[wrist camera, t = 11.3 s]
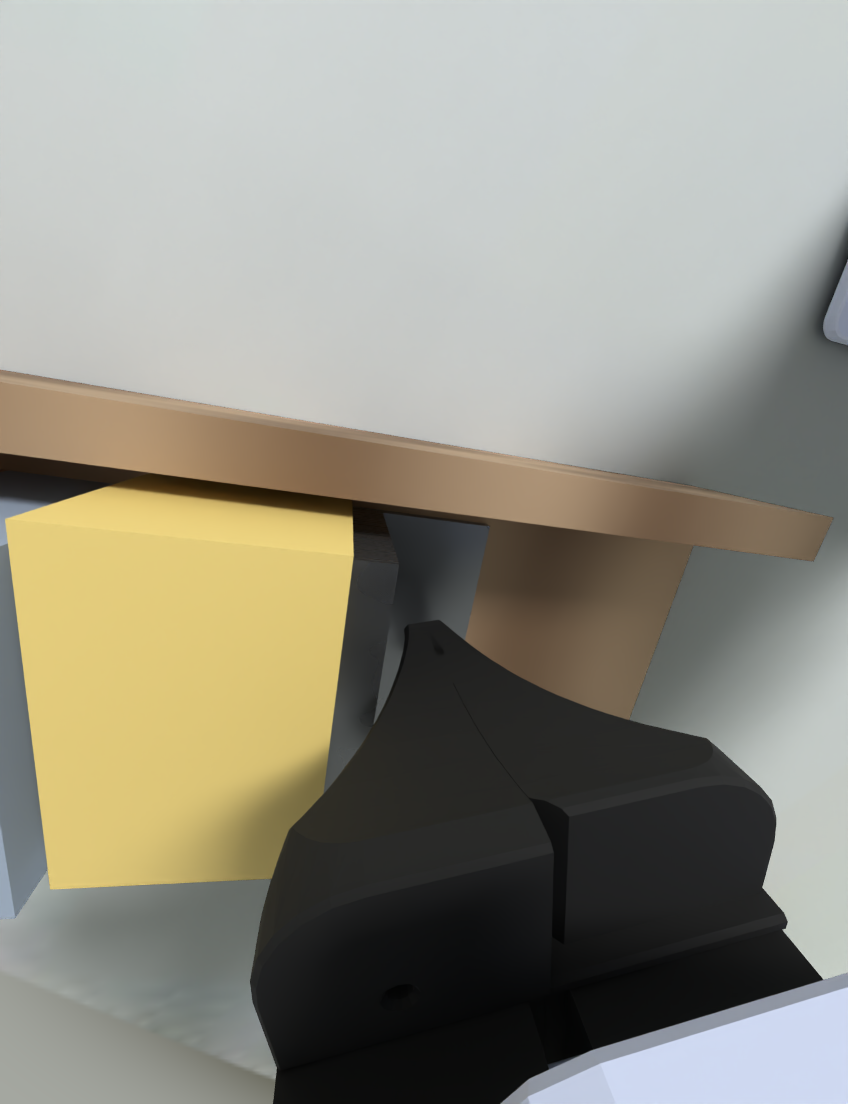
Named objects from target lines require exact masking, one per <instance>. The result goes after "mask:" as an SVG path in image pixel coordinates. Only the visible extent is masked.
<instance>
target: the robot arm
mask: <svg viewBox="0 0 848 1104" xmlns="http://www.w3.org/2000/svg"><path fill="white" fill-rule="evenodd" d="M823 332H824V334H825V336H826V338H828V339H829V340H831V341H834V342H838V343H841V344H845V345H848V261H847V263H846V266H845V268H844V271H843V273H842V276H841V278H840V281H839V283H838V286H837V288H836V291H835V293H834V296H833V298H832V301H831V303H830V306H829V308H828V311H827V313H826V316H825V319H824V323H823ZM404 635H405V642H404V648H403V653H402V657H401V661H400V665H399V668H398V672H397V674H396V677H395V680H394V682H393V685H392V688H391V690H390V693H389V695H388V697H387V700H386V702H385V704H384V706H383V708H382V710H381V712H380V714H379V716H378V718H377V720H376V721H375V723H374V725H373V727H372V728H371V730H370V732H369V733H368V735H367V737H366V738H365V740H364V741H363V743H362V744H361V746H360V747H359V749H358V750H357V752H356V753H355V755H354V756H353V757H352V759H351V760H350V761H349V762H348V764H347V765H346V766H345V768H344V769H343V770H342V772H341V773H340V774H339V776H338V777H337V778H336V779H335V781H334V782H333V783H332V784H331V786H330V787H329V788H328V789H327V790H326V792H325V793H324V794H323V795H322V796H321V797H320V798H319V799H318V800H317V801H316V802H315V803H314V804H313V805H312V807H311V808H310V809H309V810H308V811H307V812H306V813H305V814H304V815H303V816H302V817H301V818H300V819H299V820H298V821H297V822H296V823H295V824H294V825H293V826H292V827H291V828H290V829H289V831H288V833H287V836H286V838H285V841H284V844H283V847H282V849H281V852H280V855H279V858H278V861H277V864H276V867H275V870H274V873H273V876H272V879H271V882H270V886H269V890H268V893H267V897H266V900H265V904H264V908H263V912H262V916H261V921H260V926H259V932H258V938H257V944H256V950H255V956H254V962H253V967H252V973H251V979H250V984H251V992H252V1000H253V1004H254V1007H255V1010H256V1012H257V1015H258V1018H259V1020H260V1023H261V1026H262V1029H263V1031H264V1034H265V1037H266V1039H267V1042H268V1045H269V1048H270V1050H271V1053H272V1056H273V1058H274V1061H275V1064H276V1066H277V1073H276V1082H275V1092H274V1100H273V1104H848V973H845V974H842V975H838V976H835V977H832V978H828V979H825V980H823V979H822V977H821V976H820V975H819V974H818V973H817V971H816V970H815V969H814V968H813V967H812V965H811V964H810V963H809V962H808V961H807V959H806V958H805V957H804V956H803V955H802V953H801V952H800V951H799V950H798V948H797V947H796V946H795V945H794V944H793V942H792V941H791V940H790V939H789V938H788V936H787V935H786V934H785V933H784V932H783V930H782V929H786V926H787V922H788V921H787V919H786V917H785V914H784V912H783V911H782V910H781V909H780V908H779V907H778V906H777V904H776V903H775V902H774V901H773V900H772V899H771V897H770V896H769V895H768V894H767V893H766V892H765V890H764V889H763V888H762V886H763V883H764V879H765V875H766V871H767V868H768V864H769V860H770V856H771V852H772V849H773V845H774V841H775V831H776V815H775V811H774V807H773V804H772V800H771V799H770V798H769V797H768V795H767V794H766V793H765V792H764V791H763V789H762V788H761V787H760V786H759V785H758V784H757V783H756V782H755V781H753V780H752V779H751V778H750V777H749V776H748V775H747V774H746V773H745V772H744V771H743V770H741V769H740V768H739V767H738V766H737V765H736V764H735V763H734V762H733V761H732V760H731V759H729V758H728V757H727V756H726V755H725V754H724V753H723V752H722V751H721V750H720V749H718V748H717V747H716V746H715V745H714V744H713V743H711V742H710V741H709V740H708V739H707V738H702V737H698V736H693V735H689V734H685V733H680V732H676V731H671V730H667V729H662V728H658V727H653V726H649V725H645V724H641V723H637V722H634V721H631V720H627V719H624V718H621V717H617V716H614V715H610V714H607V713H604V712H601V711H598V710H595V709H592V708H589V707H587V706H584V705H581V704H579V703H576V702H574V701H571V700H569V699H566V698H564V697H561V696H558V695H556V694H554V693H552V692H549V691H547V690H545V689H543V688H541V687H539V686H537V685H535V684H533V683H531V682H529V681H527V680H525V679H523V678H521V677H519V676H517V675H516V674H514V673H512V672H510V671H509V670H507V669H505V668H504V667H502V666H501V665H499V664H497V663H496V662H494V661H493V660H491V659H490V658H488V657H487V656H485V655H484V654H482V653H481V652H480V651H478V650H477V649H475V648H474V647H473V646H471V645H470V644H469V643H468V642H466V641H465V640H464V639H463V638H461V637H460V636H459V635H458V634H456V633H455V632H454V631H453V630H452V629H450V628H449V627H448V626H447V625H445V624H444V623H443V622H442V621H440V620H433V621H427V622H421V623H414V624H408V625H407V626H406V627H405V628H404Z"/></svg>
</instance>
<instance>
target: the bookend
mask: <svg viewBox="0 0 848 1104" xmlns="http://www.w3.org/2000/svg"><path fill="white" fill-rule="evenodd" d="M352 514H353V552H354V557H353V565H352V573H351V581H350V589H349V596H348V604H347V612H346V620H345V628H344V636H343V644H342V651H341V659H340V667H339V675H338V683H337V691H336V699H335V707H334V714H333V722H332V730H331V738H330V746H329V754H328V762H327V770H326V777H325V785H324V793H325V792H326V790H327V789H328V788H329V787H330V786H331V784H332V783H333V782H334V781H335V779H336V778H337V777H338V776H339V774H340V773H341V772H342V770H343V769H344V768H345V766H346V765H347V764H348V762H349V761H350V760H351V759H352V757H353V756H354V755H355V753H356V752H357V750H358V749H359V747H360V746H361V744H362V743H363V741H364V740H365V738H366V737H367V735H368V733H369V732H370V730H371V728H372V727H373V725H374V723H375V721H376V720H377V718H378V716H379V714H380V712H381V710H382V708H383V706H384V704H385V702H386V700H387V697H388V695H389V693H390V690H391V688H392V685H393V682H394V680H395V677H396V674H397V672H398V668H399V665H400V661H401V657H402V653H403V648H404V642H405V635H404V628H405V627H406V626H407V625H408V624H414V623H421V622H427V621H433V620H440V621H442V622H443V623H444V624H445V625H447V626H448V627H449V628H450V629H452V630H453V631H454V632H455V633H456V634H458V635H459V636H460V637H461V638H463V639H464V640H465V638H466V633H467V629H468V624H469V620H470V615H471V611H472V606H473V602H474V597H475V593H476V588H477V584H478V579H479V574H480V570H481V565H482V561H483V556H484V552H485V547H486V543H487V538H488V534H489V529H490V526H489V525H488V524H486V523H478V522H470V521H463V520H455V519H447V518H440V517H432V516H424V515H417V514H409V513H401V512H394V511H386V510H378V509H371V508H363V507H355V506H352ZM324 793H323V794H324Z"/></svg>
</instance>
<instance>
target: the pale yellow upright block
mask: <svg viewBox="0 0 848 1104" xmlns="http://www.w3.org/2000/svg"><path fill="white" fill-rule="evenodd" d="M5 524H6V532H7V540H8V548H9V557H10V565H11V573H12V581H13V589H14V597H15V606H16V614H17V622H18V630H19V638H20V646H21V655H22V663H23V671H24V679H25V687H26V696H27V704H28V712H29V720H30V728H31V736H32V745H33V753H34V761H35V769H36V777H37V785H38V794H39V802H40V810H41V818H42V826H43V835H44V843H45V851H46V859H47V867H48V875H49V884H50V889H70V888H90V887H111V886H132V885H152V884H173V883H194V882H214V881H235V880H256V879H272V876H273V873H274V870H275V867H276V864H277V861H278V858H279V855H280V852H281V849H282V847H283V844H284V841H285V838H286V836H287V833H288V831H289V829H290V828H291V827H292V826H293V825H294V824H295V823H296V822H297V821H298V820H299V819H300V818H301V817H302V816H303V815H304V814H305V813H306V812H307V811H308V810H309V809H310V808H311V807H312V805H313V804H314V803H315V802H316V801H317V800H318V799H319V798H320V797H321V796H322V795H323V793H324V785H325V777H326V770H327V762H328V754H329V746H330V738H331V730H332V722H333V714H334V707H335V699H336V691H337V683H338V675H339V667H340V659H341V651H342V644H343V636H344V628H345V620H346V612H347V604H348V596H349V589H350V581H351V573H352V565H353V557H354V552H353V514H352V500H350V499H343V498H335V497H328V496H320V495H313V494H305V493H298V492H290V491H283V490H275V489H268V488H261V487H253V486H246V485H238V484H231V483H223V482H216V481H208V480H201V479H193V478H186V477H178V476H171V475H163V474H156V473H148V474H144V475H141V476H138V477H135V478H132V479H129V480H126V481H122V482H119V483H116V484H113V485H110V486H107V487H104V488H101V489H97V490H94V491H91V492H88V493H85V494H82V495H79V496H75V497H72V498H69V499H66V500H63V501H60V502H57V503H53V504H50V505H47V506H44V507H41V508H38V509H35V510H32V511H28V512H25V513H22V514H19V515H16V516H13V517H10V518H6V519H5Z"/></svg>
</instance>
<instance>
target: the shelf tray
mask: <svg viewBox="0 0 848 1104" xmlns="http://www.w3.org/2000/svg"><path fill="white" fill-rule="evenodd" d="M0 469H1V470H9V471H16V472H24V473H32V474H40V475H48V476H56V477H64V478H72V479H80V480H88V481H95V482H103V483H111V484H116V483H119V482H122V481H126V480H129V479H132V478H135V477H138V476H141V475H144V474H148V473H156V474H163V475H171V476H178V477H186V478H193V479H201V480H208V481H216V482H223V483H231V484H238V485H246V486H253V487H261V488H268V489H275V490H283V491H290V492H298V493H305V494H313V495H320V496H328V497H335V498H343V499H350V500H352V506H355V507H363V508H371V509H378V510H386V511H394V512H401V513H409V514H417V515H424V516H432V517H440V518H447V519H455V520H463V521H470V522H478V523H486V524H488V525H489V526H490V529H489V534H488V538H487V543H486V547H485V552H484V556H483V561H482V565H481V570H480V574H479V579H478V584H477V588H476V593H475V597H474V602H473V606H472V611H471V615H470V620H469V624H468V629H467V633H466V638H465V641H466V642H468V643H469V644H470V645H471V646H473V647H474V648H475V649H477V650H478V651H480V652H481V653H482V654H484V655H485V656H487V657H488V658H490V659H491V660H493V661H494V662H496V663H497V664H499V665H501V666H502V667H504V668H505V669H507V670H509V671H510V672H512V673H514V674H516V675H517V676H519V677H521V678H523V679H525V680H527V681H529V682H531V683H533V684H535V685H537V686H539V687H541V688H543V689H545V690H547V691H549V692H552V693H554V694H556V695H558V696H561V697H564V698H566V699H569V700H571V701H574V702H576V703H579V704H581V705H584V706H587V707H589V708H592V709H595V710H598V711H601V712H604V713H607V714H610V715H614V716H617V717H621V718H624V719H627V720H629V718H630V716H631V713H632V710H633V708H634V705H635V702H636V700H637V697H638V694H639V691H640V689H641V686H642V683H643V681H644V678H645V675H646V673H647V670H648V667H649V664H650V662H651V659H652V656H653V654H654V651H655V648H656V646H657V643H658V640H659V637H660V635H661V632H662V629H663V627H664V624H665V621H666V619H667V616H668V613H669V610H670V608H671V605H672V602H673V600H674V597H675V594H676V592H677V589H678V586H679V583H680V581H681V578H682V575H683V573H684V570H685V567H686V565H687V562H688V559H689V556H690V554H691V551H692V548H693V546H694V545H695V546H702V547H710V548H717V549H725V550H732V551H740V552H747V553H755V554H762V555H770V556H777V557H785V558H792V559H800V560H807V561H814V559H815V557H816V555H817V553H818V550H819V548H820V546H821V544H822V542H823V540H824V537H825V535H826V533H827V531H828V529H829V527H830V524H831V522H832V520H833V517H828V516H824V515H819V514H815V513H810V512H806V511H802V510H797V509H793V508H788V507H784V506H779V505H775V504H770V503H766V502H761V501H757V500H753V499H748V498H744V497H739V496H735V495H730V494H726V493H721V492H717V491H712V490H708V489H704V488H699V487H695V486H689V485H683V484H677V483H672V482H666V481H660V480H654V479H648V478H642V477H636V476H630V475H624V474H618V473H612V472H606V471H600V470H594V469H588V468H582V467H576V466H570V465H564V464H558V463H552V462H547V461H541V460H535V459H529V458H523V457H517V456H511V455H505V454H499V453H493V452H487V451H481V450H475V449H469V448H463V447H457V446H451V445H445V444H439V443H433V442H427V441H422V440H416V439H410V438H404V437H398V436H392V435H386V434H380V433H374V432H368V431H362V430H356V429H350V428H344V427H338V426H332V425H326V424H320V423H314V422H308V421H302V420H297V419H291V418H285V417H279V416H273V415H267V414H261V413H255V412H249V411H243V410H237V409H231V408H225V407H219V406H213V405H207V404H201V403H195V402H189V401H183V400H177V399H171V398H166V397H160V396H154V395H148V394H142V393H136V392H130V391H124V390H118V389H112V388H106V387H100V386H94V385H88V384H82V383H76V382H70V381H64V380H58V379H52V378H46V377H41V376H35V375H29V374H23V373H17V372H11V371H5V370H0Z"/></svg>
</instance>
